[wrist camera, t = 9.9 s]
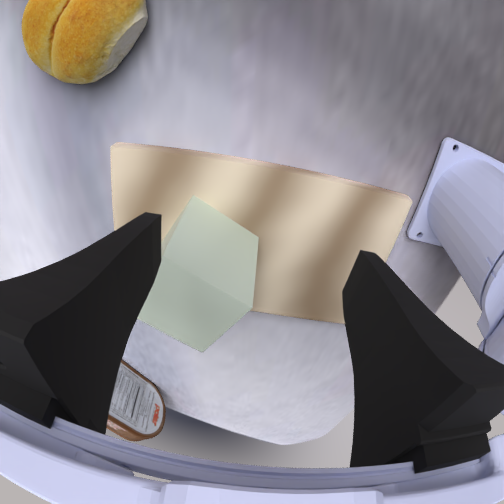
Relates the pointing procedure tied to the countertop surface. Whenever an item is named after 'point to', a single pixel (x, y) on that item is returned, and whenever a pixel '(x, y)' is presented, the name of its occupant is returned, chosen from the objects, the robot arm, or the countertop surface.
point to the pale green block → (202, 277)
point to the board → (267, 218)
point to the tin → (135, 406)
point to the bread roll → (81, 36)
